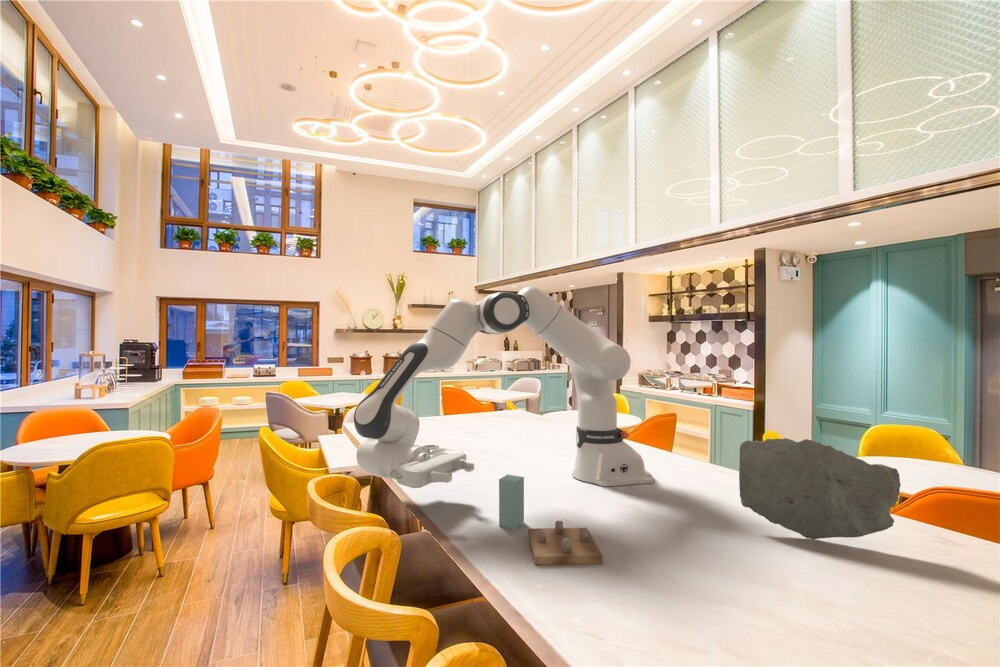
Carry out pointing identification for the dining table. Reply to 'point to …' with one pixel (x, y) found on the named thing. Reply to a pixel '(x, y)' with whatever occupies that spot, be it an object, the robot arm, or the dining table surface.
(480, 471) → the dining table surface
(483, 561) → the dining table surface
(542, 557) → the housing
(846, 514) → the rock
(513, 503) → the block
